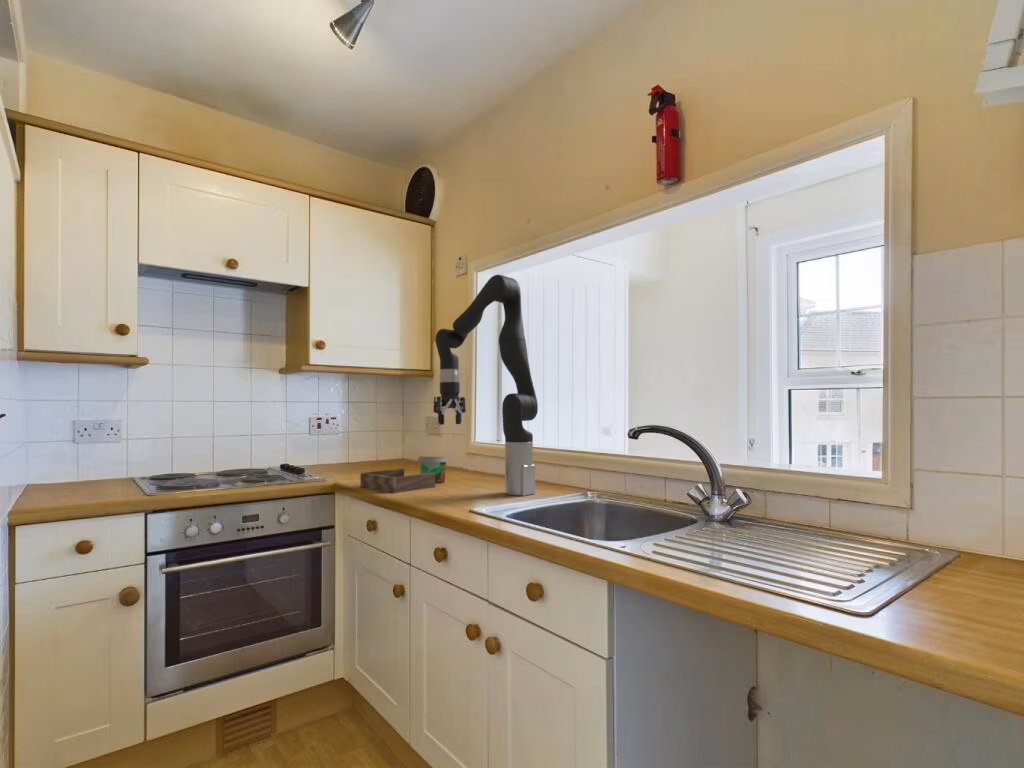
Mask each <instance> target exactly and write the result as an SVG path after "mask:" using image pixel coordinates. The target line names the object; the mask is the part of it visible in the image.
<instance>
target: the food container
mask: <svg viewBox="0 0 1024 768" xmlns="http://www.w3.org/2000/svg"><path fill="white" fill-rule="evenodd" d="M417 459H418V460H417V461H418V463H419V469H420V474H425V473H435V485H436V484H444V483H445V480H446V470H447V463H448V462H449V460H448V457H447V455H446V456H445V455H444V456H443V455H442V456H423V454H420V455H419V456H418V458H417Z"/></svg>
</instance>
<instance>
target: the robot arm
mask: <svg viewBox="0 0 1024 768" xmlns="http://www.w3.org/2000/svg"><path fill="white" fill-rule="evenodd" d="M521 292H522V291H521V286H520V283H519V282H518V281H517V280H516V279H514V278H513V277H508V276H506V275H503V274H495V275H492V276H491V277H490V278H489V279H488V280H487V282H486V283H485V284H484V285H483V287H482V288H481V290H480V291H479V292H478V293H477V295H476V296H475V298H474V299H473V301H472V302H471V303H470V304H469V306H468V307H467V308H466V309H465V310H464V311H463V312H462V313H461V314H460V315H459V316H458V317H456V319H455V320H454V321H453V323H452V329H448V328H440V329H439V330H437V332H436V334H435V345H436V349H437V353H438V356H439V361H440V362H439V366H440V367H439V369H440V370H439V394H440V396H434V397H433V413H435V414H437V421H438V424H439V426H441V425H445V412H446V411H447V410H448V409H452V410H453V411H454V413H455V425H461V423H462V414H463V413H466V411H467V409H466V398H465V396H461V397H460V396H459V395H460V392H461V391H460V389H461V387H460V386H461V385H460V370H459V369H460V368H459V363H460V362H459V356H458V355H457V354H455V353H453V352H452V351H451V349H458V348H459V347H461V346H462V345H463V343H464V341H466V338H467V337H468V335H469V334H470V333H471V332H472V331H473V330H474V329H475V328H476V327H477V326H478V325H479V324H480V322H481V321H482V319H483V315H484V312H485V309H486V308H487V307H489V306H490V305H491V304H492V303H495V302H496V303H500V304H502V306H503V311H504V321H503V324H502V328H501V330H500V332H499V336H498V346H499V354H500V359H501V361H502V363H503V365H504V367H505V368H506V369H507V371H508V372H509V374H510V375H511V377H512V378H513V380H514V383H515V387H516V390H517V393H513V392H511V393H508V394H507V395H505V397H504V399H503V401H502V407H501V412H502V413H501V414H502V415H501V416H502V430H503V431H502V433H503V434H504V440H505V441H504V494H506V495H508V496H509V495H510V496H524V497H525V496H529V495H530V496H531V495H533V494H536V465H535V464H534V463H533V461H534V460H533V459H534V458H533V457H534V455H533V453H534V452H533V449H534V448H533V447H534V445H533V444H534V442H533V441H534V440H533V439H534V437H533V436H534V435H533V433H532V432H531V431H528V430H527V429H525V428H524V426H523V421H524V422H526V421H527V422H529V421H532V420H534V419H535V418H536V417H537V415H538V410H539V409H538V408H539V406H538V405H539V404H538V399H537V395H536V390H535V388H534V383H533V379H532V374H531V369H530V363H529V357H528V356H529V355H528V349H527V347H528V346H527V340H526V336H525V330H524V323H523V322H524V320H523V315H522V314H523V313H522V295H521Z"/></svg>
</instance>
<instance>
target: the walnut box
mask: <svg viewBox="0 0 1024 768" xmlns="http://www.w3.org/2000/svg"><path fill="white" fill-rule="evenodd" d="M359 483H360V488H364V489H368V488H369V489H370V490H374V489H375V490H374V491H379V490H380V492H384V491H385V492H386V493H391V494H396V493H404V492H409V491H417V490H424V489H429V488H436V484H435V473H425V474H421V473H418V474H411V475H405V468H403V467H402V468H394V469H393V468H392V469H383V470H382V469H381V470H376V471H366V472H364V471H363V472H360V482H359ZM369 489H368V490H369ZM385 492H384V493H385Z"/></svg>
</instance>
